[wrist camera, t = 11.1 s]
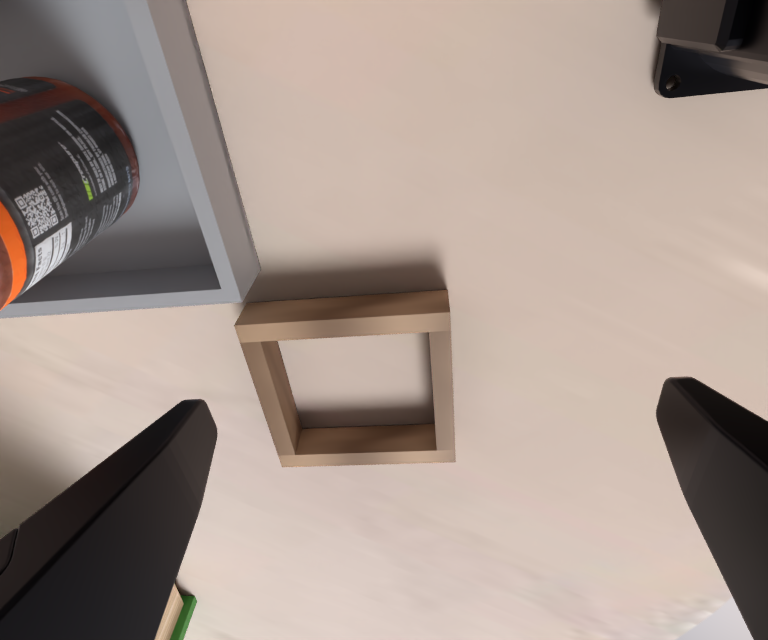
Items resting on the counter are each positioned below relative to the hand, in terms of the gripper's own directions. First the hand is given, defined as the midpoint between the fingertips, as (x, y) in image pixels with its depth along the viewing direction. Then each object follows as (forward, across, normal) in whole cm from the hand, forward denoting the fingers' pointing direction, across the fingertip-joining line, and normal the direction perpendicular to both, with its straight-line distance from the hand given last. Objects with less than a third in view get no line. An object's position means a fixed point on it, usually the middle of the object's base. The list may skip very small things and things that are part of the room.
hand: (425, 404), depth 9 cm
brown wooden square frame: (+13, +4, +10) cm, 17 cm away
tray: (+13, +14, -3) cm, 19 cm away
